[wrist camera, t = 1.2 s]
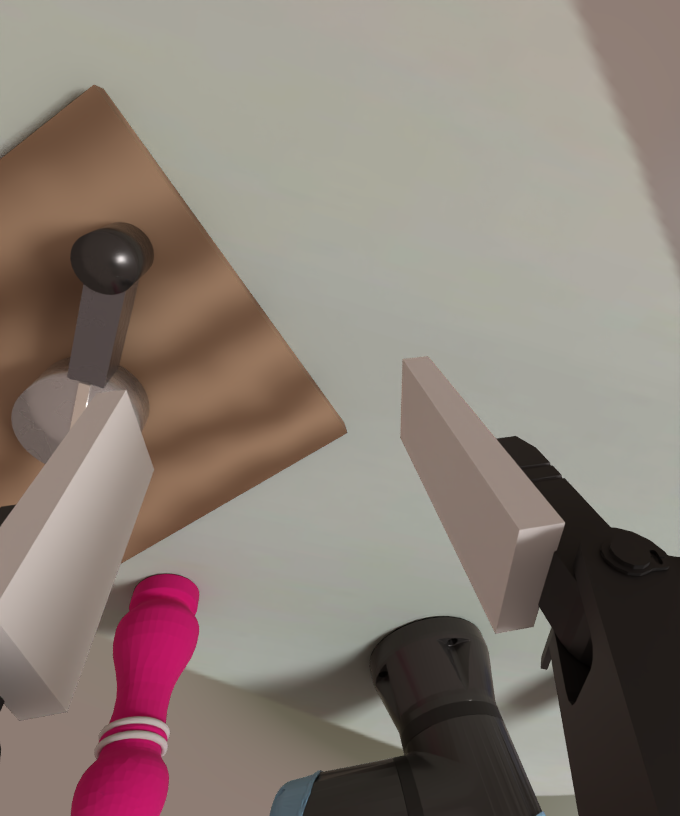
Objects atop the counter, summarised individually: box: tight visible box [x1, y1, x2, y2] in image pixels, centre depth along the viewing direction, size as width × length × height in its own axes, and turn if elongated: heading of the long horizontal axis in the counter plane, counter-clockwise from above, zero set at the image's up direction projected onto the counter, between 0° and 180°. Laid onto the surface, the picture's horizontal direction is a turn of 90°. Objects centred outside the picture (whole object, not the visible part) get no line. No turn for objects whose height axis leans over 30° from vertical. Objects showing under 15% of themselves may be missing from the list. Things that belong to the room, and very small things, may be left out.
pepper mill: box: [71, 574, 199, 816], centre depth 34 cm, size 7×7×20 cm
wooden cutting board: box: [0, 85, 347, 563], centre depth 30 cm, size 26×26×2 cm
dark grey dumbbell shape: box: [11, 222, 154, 464], centre depth 26 cm, size 16×7×4 cm, turn 155°
